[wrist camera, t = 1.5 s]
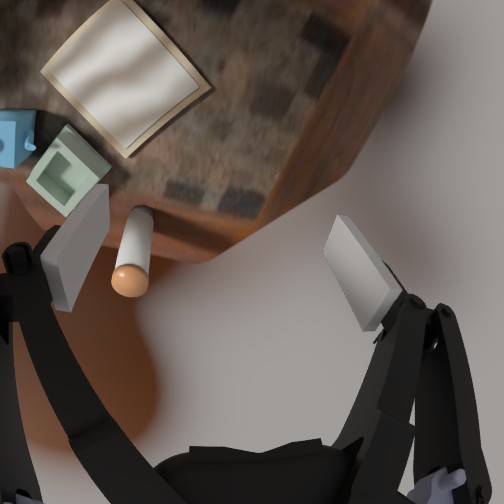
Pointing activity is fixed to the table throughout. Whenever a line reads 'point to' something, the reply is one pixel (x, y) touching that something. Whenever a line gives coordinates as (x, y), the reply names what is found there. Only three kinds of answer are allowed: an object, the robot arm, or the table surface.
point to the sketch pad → (124, 75)
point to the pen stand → (67, 171)
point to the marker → (134, 253)
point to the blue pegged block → (16, 136)
